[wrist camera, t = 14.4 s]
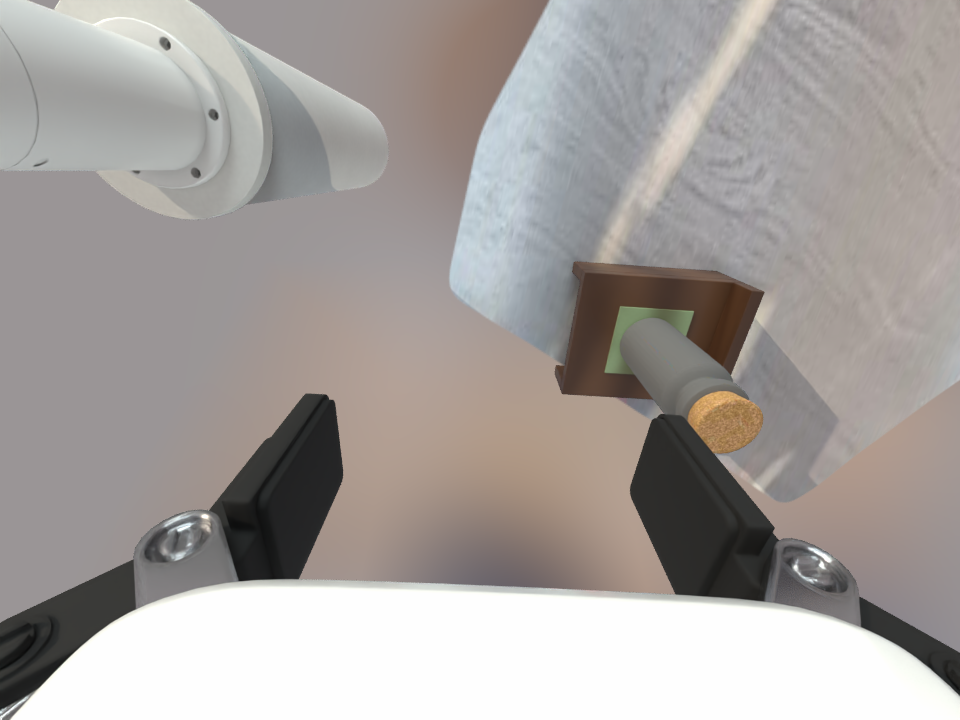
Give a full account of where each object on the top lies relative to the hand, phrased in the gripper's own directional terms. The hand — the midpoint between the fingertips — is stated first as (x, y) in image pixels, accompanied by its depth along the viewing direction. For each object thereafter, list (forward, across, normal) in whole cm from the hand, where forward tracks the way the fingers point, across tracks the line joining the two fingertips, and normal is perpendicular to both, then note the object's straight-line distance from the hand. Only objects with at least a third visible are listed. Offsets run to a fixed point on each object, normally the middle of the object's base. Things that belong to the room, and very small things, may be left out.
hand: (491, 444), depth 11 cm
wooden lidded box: (+33, -18, +8) cm, 39 cm away
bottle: (+28, -18, +8) cm, 34 cm away
